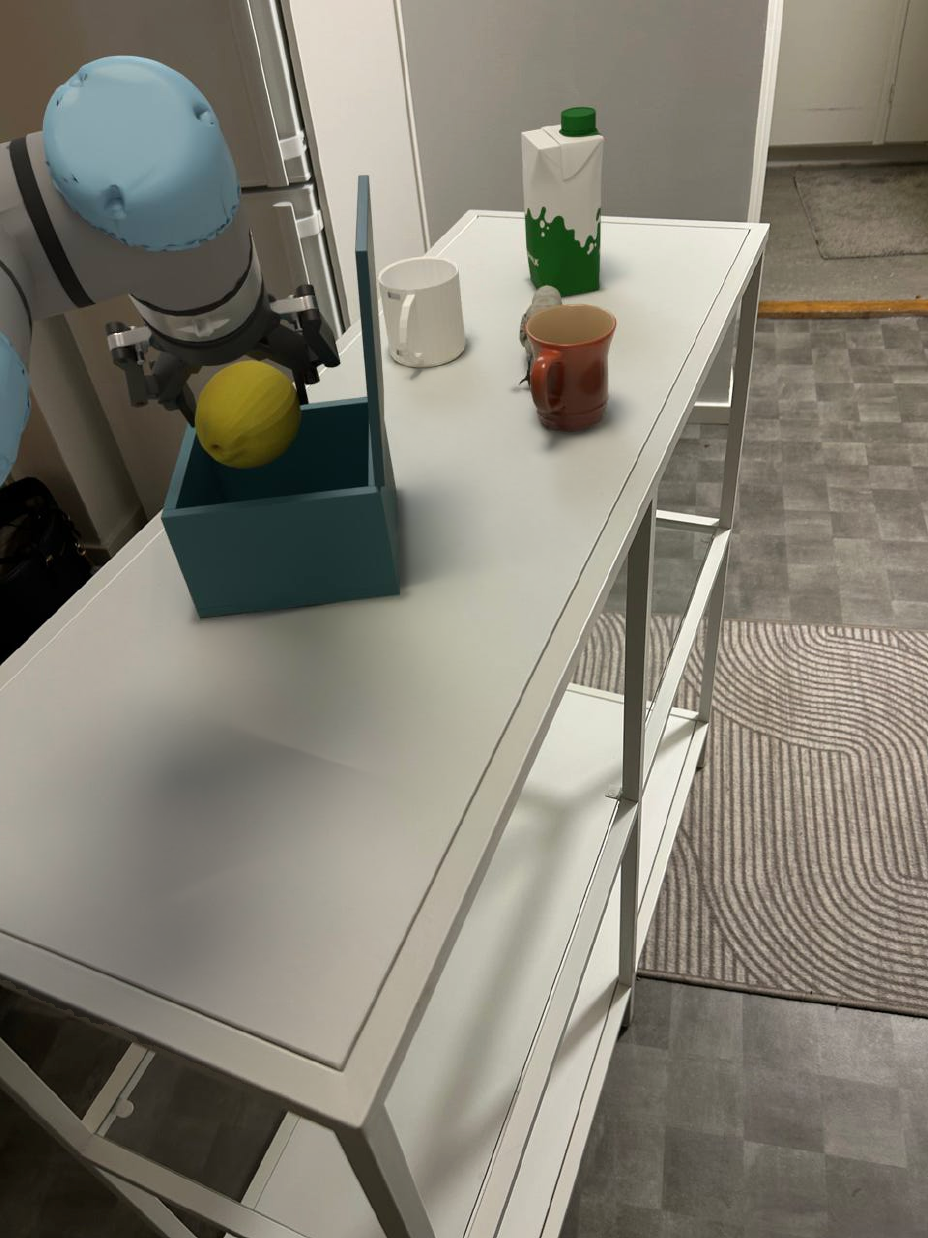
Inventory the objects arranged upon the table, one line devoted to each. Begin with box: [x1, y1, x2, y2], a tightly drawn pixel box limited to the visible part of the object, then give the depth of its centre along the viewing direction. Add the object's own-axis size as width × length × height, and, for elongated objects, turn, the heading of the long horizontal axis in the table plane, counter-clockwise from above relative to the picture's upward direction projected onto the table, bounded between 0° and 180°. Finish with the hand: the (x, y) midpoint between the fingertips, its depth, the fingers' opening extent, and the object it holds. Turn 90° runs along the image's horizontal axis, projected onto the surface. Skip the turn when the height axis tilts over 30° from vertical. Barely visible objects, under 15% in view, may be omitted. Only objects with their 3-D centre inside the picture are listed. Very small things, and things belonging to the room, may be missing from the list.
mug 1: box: [377, 255, 466, 368], centre depth 106 cm, size 12×9×9 cm
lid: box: [354, 174, 385, 487], centre depth 70 cm, size 18×15×1 cm
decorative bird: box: [518, 285, 563, 389], centre depth 103 cm, size 5×16×8 cm, turn 173°
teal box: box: [160, 396, 401, 619], centre depth 80 cm, size 17×15×10 cm
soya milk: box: [520, 106, 605, 298], centre depth 113 cm, size 9×9×20 cm
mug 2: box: [525, 303, 617, 433], centre depth 91 cm, size 12×9×10 cm
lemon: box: [195, 359, 301, 469], centre depth 74 cm, size 11×8×8 cm
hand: (247, 400), depth 76 cm, fingers closed on lemon, 8 cm apart
